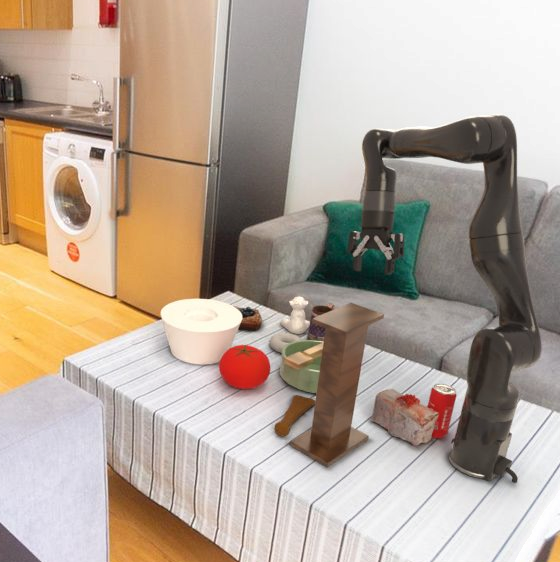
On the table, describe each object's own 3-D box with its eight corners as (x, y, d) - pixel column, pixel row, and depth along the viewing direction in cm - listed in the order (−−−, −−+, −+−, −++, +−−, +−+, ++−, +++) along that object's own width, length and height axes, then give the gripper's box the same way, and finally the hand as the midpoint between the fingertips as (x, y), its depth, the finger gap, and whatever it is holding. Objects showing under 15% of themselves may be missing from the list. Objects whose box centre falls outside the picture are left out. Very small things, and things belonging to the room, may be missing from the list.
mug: (322, 351, 177) (327, 314, 173) (301, 343, 182) (306, 307, 178) (339, 340, 184) (344, 305, 179) (319, 333, 188) (323, 298, 184)
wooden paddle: (334, 340, 168) (335, 333, 167) (347, 346, 165) (349, 339, 164) (284, 363, 156) (285, 356, 155) (298, 370, 153) (299, 362, 152)
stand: (368, 440, 136) (391, 314, 124) (327, 467, 127) (347, 335, 115) (331, 420, 144) (349, 300, 132) (289, 445, 135) (305, 318, 123)
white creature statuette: (309, 325, 194) (314, 291, 190) (313, 336, 186) (317, 302, 182) (280, 323, 195) (284, 290, 191) (282, 334, 187) (286, 300, 183)
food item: (438, 441, 136) (446, 405, 132) (417, 453, 132) (425, 416, 128) (386, 413, 147) (392, 378, 143) (365, 423, 143) (371, 388, 139)
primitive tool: (294, 396, 154) (296, 384, 152) (316, 402, 151) (317, 390, 150) (272, 434, 138) (273, 422, 137) (295, 442, 136) (297, 429, 134)
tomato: (244, 366, 168) (246, 333, 165) (278, 385, 159) (282, 351, 155) (207, 381, 161) (209, 347, 157) (241, 402, 151) (244, 366, 147)
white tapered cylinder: (143, 349, 178) (143, 313, 174) (196, 326, 193) (197, 292, 189) (203, 379, 162) (205, 340, 157) (255, 351, 177) (259, 315, 172)
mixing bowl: (363, 380, 161) (367, 358, 158) (322, 403, 151) (326, 379, 148) (306, 355, 175) (309, 334, 172) (265, 374, 164) (268, 352, 162)
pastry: (226, 315, 202) (227, 299, 200) (262, 318, 199) (263, 302, 197) (223, 328, 192) (224, 312, 190) (260, 332, 189) (262, 316, 187)
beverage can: (445, 442, 136) (456, 397, 131) (420, 434, 138) (430, 391, 134) (447, 430, 140) (458, 387, 135) (423, 424, 142) (433, 381, 138)
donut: (296, 359, 173) (307, 345, 180) (298, 349, 171) (308, 335, 179) (264, 350, 178) (275, 337, 185) (265, 340, 176) (276, 328, 184)
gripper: (345, 208, 153) (339, 270, 155) (397, 209, 142) (391, 276, 144) (361, 209, 158) (355, 269, 160) (413, 210, 146) (406, 275, 148)
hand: (372, 272), depth 152 cm, fingers open, 8 cm apart
